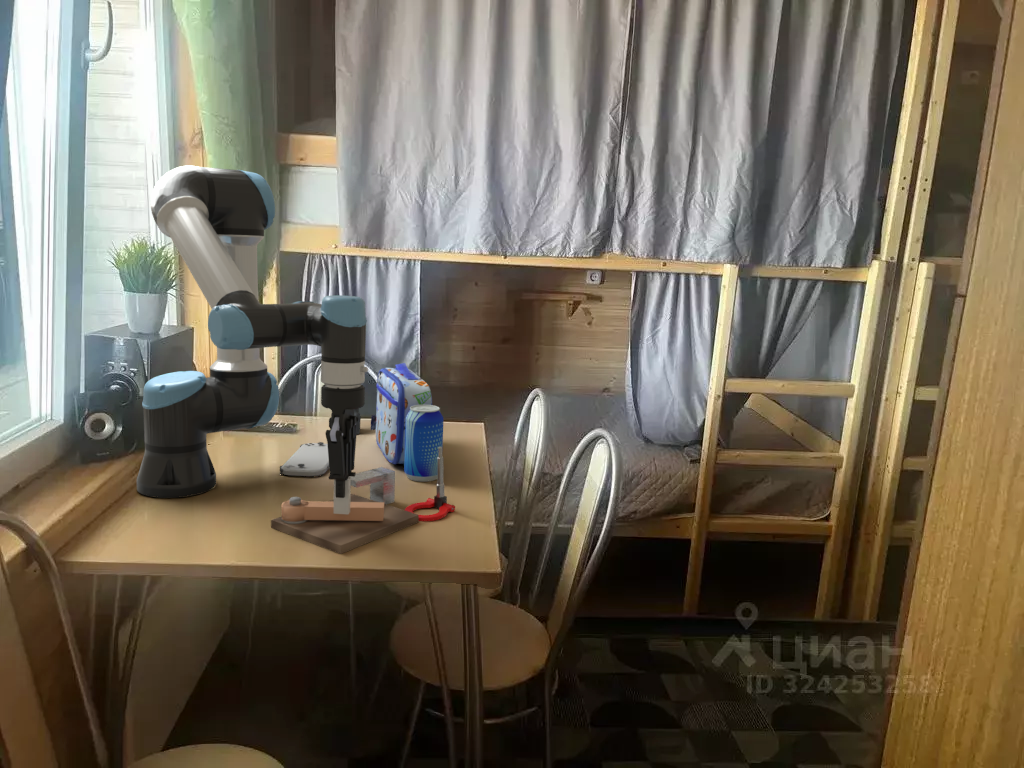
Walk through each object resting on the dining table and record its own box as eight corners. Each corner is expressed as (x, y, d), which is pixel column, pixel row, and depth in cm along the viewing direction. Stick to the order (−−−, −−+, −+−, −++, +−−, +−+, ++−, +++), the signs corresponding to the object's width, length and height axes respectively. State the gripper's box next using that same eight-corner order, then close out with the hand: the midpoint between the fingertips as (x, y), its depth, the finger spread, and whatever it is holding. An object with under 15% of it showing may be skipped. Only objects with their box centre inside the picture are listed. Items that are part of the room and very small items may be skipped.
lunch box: (367, 441, 204) (368, 358, 200) (406, 439, 208) (408, 357, 204) (391, 473, 179) (393, 378, 175) (435, 470, 183) (438, 377, 179)
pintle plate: (271, 527, 144) (271, 517, 143) (351, 500, 160) (351, 491, 160) (340, 553, 134) (340, 543, 134) (418, 522, 150) (418, 512, 150)
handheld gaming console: (322, 468, 173) (276, 466, 172) (322, 480, 173) (276, 478, 173) (343, 441, 195) (303, 439, 195) (343, 451, 196) (303, 449, 196)
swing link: (279, 521, 142) (279, 502, 141) (284, 512, 146) (284, 494, 146) (382, 522, 144) (383, 504, 143) (384, 513, 148) (384, 495, 148)
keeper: (355, 513, 153) (356, 481, 152) (342, 508, 155) (343, 476, 154) (394, 502, 161) (395, 471, 159) (381, 497, 163) (381, 466, 162)
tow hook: (427, 527, 149) (459, 512, 157) (426, 462, 147) (459, 450, 154) (395, 516, 154) (427, 502, 162) (394, 453, 151) (427, 442, 159)
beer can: (425, 469, 184) (427, 402, 181) (449, 478, 178) (451, 409, 175) (396, 475, 178) (398, 406, 175) (419, 485, 172) (421, 413, 169)
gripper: (354, 392, 132) (353, 526, 136) (372, 379, 145) (371, 502, 149) (310, 389, 132) (310, 523, 136) (332, 377, 145) (331, 500, 149)
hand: (341, 512), depth 143 cm, fingers closed
